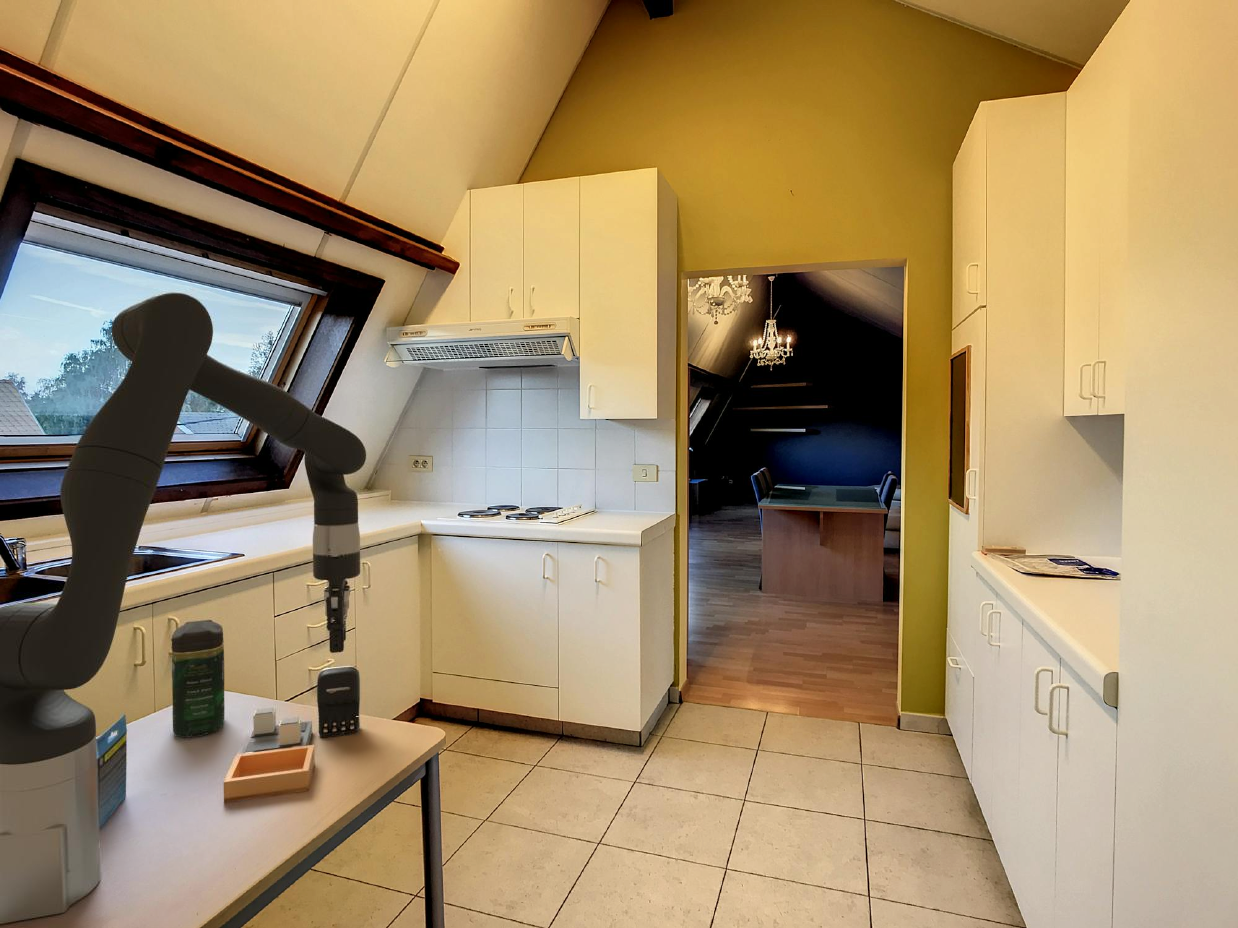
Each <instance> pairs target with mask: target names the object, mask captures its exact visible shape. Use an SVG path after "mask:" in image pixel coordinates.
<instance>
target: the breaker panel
mask: <svg viewBox="0 0 1238 928" xmlns="http://www.w3.org/2000/svg"><path fill="white" fill-rule="evenodd" d="M312 733H313V721H312V720H309V721H301V740H300V743H295V744H287V745H279V724H276V728H275V730H274V732H272V733H264V734H255V735H254V729H253V730H252V732H251V734H250V737H249V739H248V741H247V744H246V745H245V748H244V751H243V753H242V754H245V753H253V752H261V751H269V750H277V749H285V748H293V747H301V746H308V745H310V742H311V739H312V735H311V734H312Z"/></svg>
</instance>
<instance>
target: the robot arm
mask: <svg viewBox="0 0 1238 928" xmlns="http://www.w3.org/2000/svg"><path fill="white" fill-rule="evenodd" d="M111 335H112V339H113V340H112V341H113V342H114V344H115V347H116V348H117V349H118V351H119V352H120V353H121V354H122V356H124V357H125V358H126V359H127V360H129V361H131V363H130V365H129V368H128V370H127V372H126V374H125V376H124V378H123V379H122V380H121V382H120V384H119V385H118V387H117V388H116V389H115V390H114V392H113V393H112V394H111V395H110V396H109V398H108V399H107V400H106V401H105V402H104V404H103V405H102V406H101V408H100V409H99V411H97V412H96V414H95V415H94V417H93V418H92V420H91V421H90V423H89V424H88V425H87V426H86V428H85V429H84V431H83V432H82V434H81V436H80V438H79V440H78V442H77V443H76V446H75V448H74V450H73V452H72V456H71V458H70V460H69V463H68V466H67V468H66V470H65V473H64V476H63V478H62V480H61V481H62V482H61V485H60V493H59V495H60V505H61V509H62V513H63V516H64V522H65V524H66V528H67V531H68V535H69V539H70V542H71V561H70V566H69V570H68V575H67V578H66V581H65V584H64V586H63V589H62V591H61V594H60V597H59V598H58V600H57V603H43V602H41V603H39V602H37V603H36V602H34V603H33V602H21V603H13V604H9V605H6V606H3V607H1V608H0V925H2V924H6V923H8V924H9V923H12V922H13V923H14V922H19V921H23V920H24V921H25V920H30V919H34V918H35V919H36V918H41V917H46V916H47V917H48V916H51V915H52V916H53V915H57V914H62V913H65V912H66V911H67V910H68V909H69V908H70V906H72V905H73V904H75V903H76V902H78V901H79V900H81V899H82V898H84V897H86V896H88V894H89V893H90V892H92V891H93V890H94V889H95V887H97V885H98V883H100V881H101V880H100V879H101V848H100V847H101V846H100V845H101V844H100V829H99V816H98V786H97V752H96V739H97V730H96V729H97V724H96V716H95V713H94V711H93V710H92V709H91V708H90V707H88V706H86V705H84V704H83V703H81V702H78V700H76V699H74V698H72V697H71V696H70V695H69V694H67V692H66V691H67V690H74V689H77V688H80V687H82V686H84V685H85V684H87V683H88V682H89V681H91V680H92V679H93V678H94V677H95V676H97V673H98V672H99V671H100V670H101V668H102V667H103V665H104V663H105V661H106V659H107V657H108V654H109V653H110V650H111V647H112V644H113V640H114V637H115V633H116V629H117V624H118V621H119V620H118V619H119V615H120V612H121V606H122V601H123V599H124V598H123V597H124V593H125V589H126V585H127V579H128V575H129V571H130V568H131V567H130V566H131V564H132V560H133V556H134V554H135V550H136V547H137V544H138V539H139V537H140V533H141V530H142V527H143V524H144V521H145V519H146V516H147V513H148V511H149V507H150V505H151V503H152V500H153V497H154V494H155V492H156V489H157V487H158V483H159V481H160V478H161V475H162V472H163V469H164V465H165V461H166V458H167V454H168V451H169V448H170V446H171V444H172V439H173V437H174V435H175V432H176V428H177V425H178V423H179V420H180V416H181V413H182V410H183V407H184V404H185V400H186V398H187V396H188V393H189V391H190V392H191V391H192V392H193V393H195V394H197V395H199V396H201V397H203V398H205V399H208V400H209V401H212V403H215V404H217V405H219V406H221V407H222V408H224V409H226V410H228V411H230V412H232V413H233V414H235V415H237V416H239V417H240V418H242V419H244V420H246V421H247V422H249V423H250V424H252V425H253V426H254V427H256V428H258V429H259V430H260V431H262V432H263V433H265V434H267V435H268V436H270V437H272V438H273V439H275V441H278V442H279V443H280V444H281V445H284V446H287V447H288V448H290V449H295V450H300V451H303V452H304V456H303V457H304V458H303V459H304V467H305V471H306V472H305V473H306V475H307V480H308V484H309V488H310V491H311V494H312V497H313V523H314V524H313V531H312V532H313V533H312V575H313V576H312V577H313V578H314V579H315V580H319V581H327V582H328V585H327V586H325V587H324V588H325V589H324V590H323V599H324V600H325V605H324V606H325V611H324V613H325V616H326V629H327V631H328V633H329V652H330V653H331V654H336V653H337V654H338V653H342V652H343V651H344V649H345V641H346V639H347V626H346V625H347V623H346V622H347V621H346V620H347V618H348V610H349V608H350V595H351V585H350V584H348V583H349V582H348V580H350V579H354V578H356V577H358V576H360V575H361V574H360V573H361V536H360V535H361V534H360V527H359V499H358V495H357V492H356V491H355V490H354V489H352V488H350V487H348V485H347V484H346V480H345V476H346V475H352V474H355V473H357V472H359V471H360V470H361V469H362V468H363V467H364V465H365V463H366V460H367V450H366V447H365V446H364V443H363V442H362V440H361V439H360V438H359V437H358V436H357V435H356V434H354V433H353V432H351V431H350V430H349V429H347V428H345V427H343V426H341V425H339V424H337V423H336V422H333V421H332V420H330V419H327V418H325V417H324V416H322V415H319V414H318V413H316V412H314V411H313V410H312V409H310V408H309V407H308V406H307V405H305V404H304V403H303V402H301V401H300V400H299V399H297V398H296V397H294V396H293V395H291V394H290V393H289V392H287V391H286V390H284V389H283V388H281V387H279V386H277V385H275V384H273V383H271V382H269V381H266V380H264V379H261V378H259V377H256V376H253V375H251V374H248V373H246V372H242V371H240V370H238V369H236V368H233V367H231V366H229V365H227V364H224V363H222V362H221V361H219V360H217V359H216V358H213V357H212V356H210V355H209V354H208V353H209V350H210V348H211V345H212V343H213V336H214V326H213V322H212V318H211V315H210V314H209V312H208V310H207V308H206V306H204V304H203V303H201V301H200V300H198V299H197V297H196V298H195V297H194V296H192V295H190V294H187V293H183V292H175V291H174V292H164V293H159V294H156V295H153V296H150V297H147V298H146V299H144V300H142V301H139V302H137V303H135V304H133V305H130V306H129V307H127V308H125V309H123V310H122V311H120V312H119V313H118V314H117V315H116V317H115V318H114V319H113V322H112V326H111ZM65 690H66V691H65Z"/></svg>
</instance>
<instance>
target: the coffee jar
mask: <svg viewBox="0 0 1238 928" xmlns="http://www.w3.org/2000/svg"><path fill="white" fill-rule="evenodd" d="M170 641H171V681H172V682H171V684H172V685H171V686H172V687H171V689H172V693H171V694H172V731H173V734H174V735H175V737H177V738H179V737H180V738H181V737H183V738H184V737H189V738H190V737H191V738H195V737H202V736H205V735H207V734H209V733H211V732H214V731H218V730H220V729H221V728H222V726H223V724H224V722H225V709H226V708H225V707H226V706H225V647H224V646H225V645H224V643H225V642H224V631H223V626H222V625H221V624H219V623H217V622H216V621H213V620H212V619H205V620H193V621H192V620H191V621H187V622H185V623H184V624H183V625H181V626H179V627H178V628H176V629H175V630H174V632H173V634H172V635H171V639H170Z"/></svg>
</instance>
